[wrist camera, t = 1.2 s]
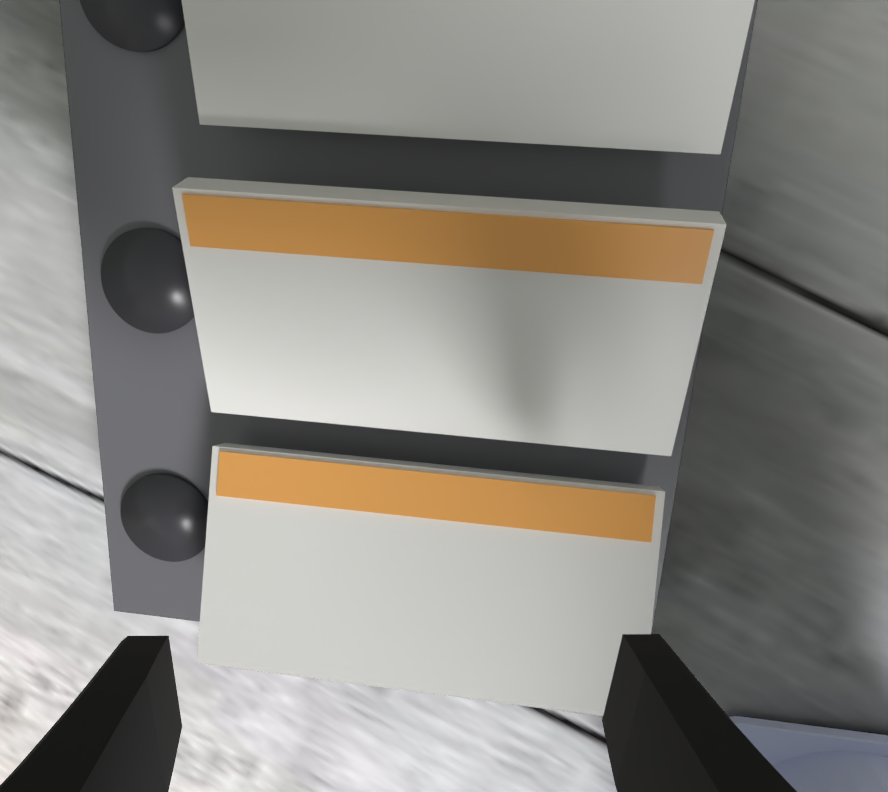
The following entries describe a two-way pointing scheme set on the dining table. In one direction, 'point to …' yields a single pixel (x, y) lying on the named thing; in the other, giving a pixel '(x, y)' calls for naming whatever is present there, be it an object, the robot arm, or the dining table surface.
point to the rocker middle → (448, 310)
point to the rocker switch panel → (169, 299)
